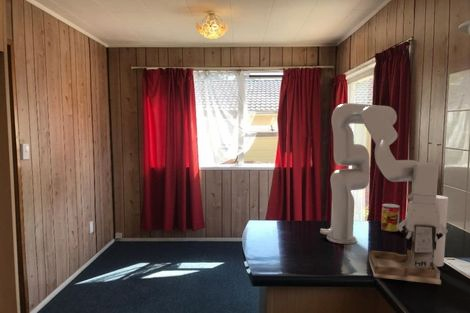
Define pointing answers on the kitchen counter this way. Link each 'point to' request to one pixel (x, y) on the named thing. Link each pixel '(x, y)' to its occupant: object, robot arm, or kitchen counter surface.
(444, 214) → the cylindrical container
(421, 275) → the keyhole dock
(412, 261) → the coffee box
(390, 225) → the canned food
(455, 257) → the kitchen counter surface
